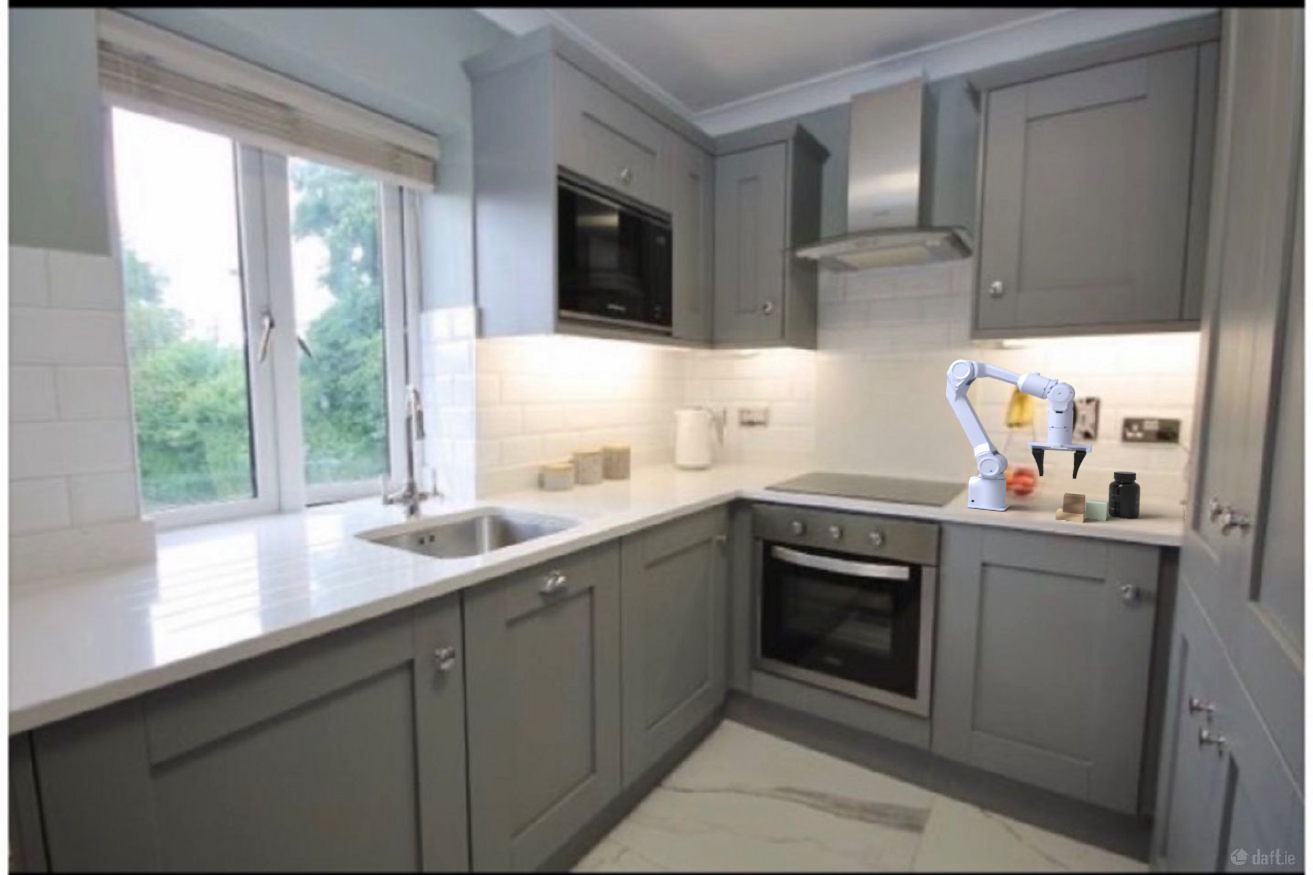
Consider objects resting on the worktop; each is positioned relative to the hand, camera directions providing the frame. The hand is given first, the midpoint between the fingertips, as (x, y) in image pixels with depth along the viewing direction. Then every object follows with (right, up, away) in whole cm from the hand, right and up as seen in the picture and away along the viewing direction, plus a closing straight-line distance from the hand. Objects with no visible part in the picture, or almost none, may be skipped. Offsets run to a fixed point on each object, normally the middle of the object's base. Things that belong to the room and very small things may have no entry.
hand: (1057, 477), depth 171 cm
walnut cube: (+1, -9, -5) cm, 10 cm away
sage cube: (+8, -11, -4) cm, 14 cm away
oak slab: (0, -11, -5) cm, 12 cm away
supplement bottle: (+17, -11, -2) cm, 20 cm away
